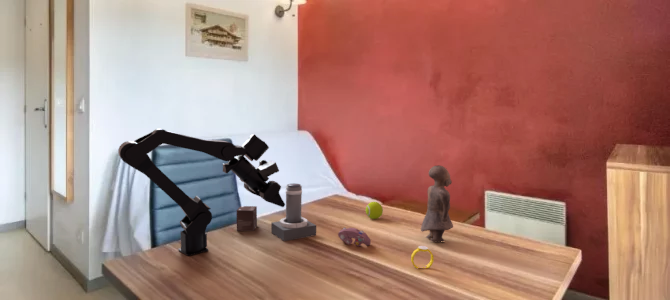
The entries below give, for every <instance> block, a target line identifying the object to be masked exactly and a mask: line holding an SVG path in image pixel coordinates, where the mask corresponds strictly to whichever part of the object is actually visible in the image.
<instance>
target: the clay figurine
mask: <svg viewBox="0 0 670 300" xmlns="http://www.w3.org/2000/svg"><path fill="white" fill-rule="evenodd" d="M428 176H429V177H430V178H431V179H432V180H433V182H434V183H433V185H430V186H428V188H427V204H426V205H427V210H426V213H425V216H424V218H423V221H422V223H421V227H420V232H422V233H423V232H426V231H429V234H428V235H427V236H426V237H425V238H426V239H429V240H430V242H431V243H442V242H441V241H445V239H444V238H443V235H444V233H445V231H449V230H451V229H453V228H454V224H453V222H452V220H451V217H450V214H449V211H450V209H451V203H450V202H451V201H450V200H451V193H450V192H449V191H448V190H447V189H446V188H445V187H447V188H448V187H449V186H450V185H452V180H451V174H450V173H449V170H448V169H447V168H446V167H445V166H443V165H434V166H432V167H431V168H430V169H429V171H428Z"/></svg>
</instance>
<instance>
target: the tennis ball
mask: <svg viewBox="0 0 670 300" xmlns="http://www.w3.org/2000/svg"><path fill="white" fill-rule="evenodd" d="M383 212H384V209H383V205H381V203H380V202H378V201H371V202H369V203H368V204H367V205H366V207H365V214H366V215H367V217H368V218H370V219H372V220H377V219H380V218H381V216H382V215H383Z"/></svg>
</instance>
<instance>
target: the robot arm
mask: <svg viewBox="0 0 670 300" xmlns="http://www.w3.org/2000/svg"><path fill="white" fill-rule="evenodd" d="M161 145H168V146H173V147H177V148H182V149H187V150H190V151H191V150H192V151H196V152H200V153H204V154H206V155H209V156H212V157H214V158H216V159H219V160H221V161H223V162H226V163H222V172H223V173H225V174H228V173H230V171H231V172H232V173H233V174H234V175H236V177H238V178H239V180H240V181H241V182H242V183H243V188H244V189H245V190H246V191H248V192H249V193H251V194H252V195H255V196H258V197H259V198H261V199H262V200H263V201H265V202H266V203H269V204H273V205H276V206H278V207H281V208H285V207H286V202H284V199H283V198H282V197H281V194H280V191H281V189H282V185H280V184H279V183H278V182H277V181H274V180H269V179H270V176H273V175H274V174H276V173H279V171H280V168H279V167H278V165H277V162H276V161H275V160H268V161H267V160H266V159H261V157H262V156H263V155H264V154H265V153H266V152H267V151H268V149H270V147H269V145H268V144H267V142H266V141H264V140H263V139H261V138H260V137H258V136H257V135H256V134H253V133H251V134H250V136H249V137H248V139H247V140H246V141H244V143H243V144H242V145H239V144H234V143H233V142H230V141H226V140H219V139H203V138H198V137H193V136H189V135H186V134H185V135H184V134H182V133H178V132H177V133H176V132H174V131H173V132H172V131H168V130H166V129H162V128H156V129H154V130H153V131H151V132H149V133H148V134H145V135H143V136H141V137H139V138H137V139H135V140H126V141H124V142H122V143H121V144H120V145H119V147H118V151H117V152H118V156H119V157H120V159H121V160H122V162H124V163H125V164H127V165H128V166H130V167H131V168H133V169H135V170H136V171H138V172H139V173H142V174H144V175H145V176H146V177H147V178H148V179H149V180H150V181H151V182H152V183H153V184H155V185H156V186H157V187H158V188H159V189H161V191H163V192H164V194H166V195H167V196H168V197H169V198H170V199H171V200H172V201H173V202H175V203H176V204H177V205H178V206H179V207H180V208H181V210H182V211H183V213H184V214H185V216H184V217H183V218H181V220H180V221H179V225H180V226H181V228H182V229H183V230H181V231H180V248H178V251H179V252H180V253H182V254H184V255H186V256H188V257H189V256H193V255H198V254H202V253H206V252H208V251H209V248H207V247H208V234H207V233H206V230H207V227H208V225H210V224H211V222H212V219H213V214H212V212H211V211H210V210H211V207H210V206H208V205H207V204H206V203H205V202H204V201H203V200H202V199H201V198H200V197H199V196H198V195H195V196H194V197H193V198H192V197H191V196H189V195H187V194H186V192H184V191H183V190H182V189H181V188H180V187H179V186H178V185H177V184H176V183H175V182H173V181H172V180H171V179H170V177H168V175H166V174H165V173H164V172H163V171H162V170H161V169H160V168H158V166H156V165H155V163H154V161H152V159H151V158H150V156H149V155H148V154H149V153H151V152H152V151H154V150H155V149H157V148H158V147H160V146H161ZM259 159H261V160H260V161H259V164H258V167H256V166H254V165H253V164H252V163H251V162H254V161H255V162H256V161H257V162H258V160H259ZM250 161H251V162H250ZM268 180H269V181H268Z"/></svg>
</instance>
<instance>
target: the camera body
mask: <svg viewBox="0 0 670 300" xmlns="http://www.w3.org/2000/svg"><path fill="white" fill-rule="evenodd" d="M270 225H271V227H270V229H271V232H270V233H272V234H273V235H274V236H276V237H277V238H278V239H280V240H282V241H283V242H286V241H292V240H297V239H302V238H308V237H309V238H310V237H315V236H317V224H315V223H312V222H311V221H310V220H308V219H307V218H305V217H303V216H301V223H286V216H285V217H282V218H280V220H279V221H272V222H271V224H270Z"/></svg>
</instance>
